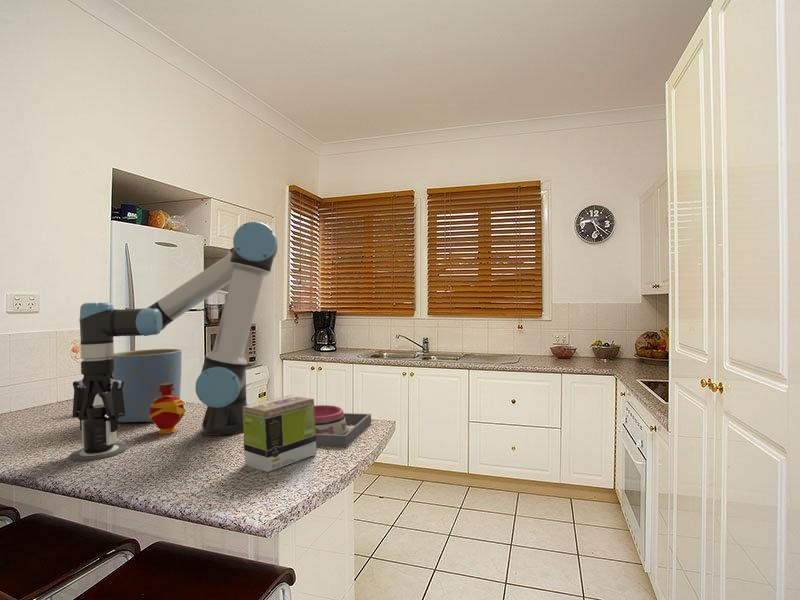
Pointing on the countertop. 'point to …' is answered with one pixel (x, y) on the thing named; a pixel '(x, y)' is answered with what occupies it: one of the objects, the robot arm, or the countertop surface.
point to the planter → (145, 379)
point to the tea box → (279, 432)
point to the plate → (83, 456)
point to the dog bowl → (330, 420)
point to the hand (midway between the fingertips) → (99, 443)
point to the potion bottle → (166, 409)
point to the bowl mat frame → (346, 439)
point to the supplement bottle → (95, 430)
